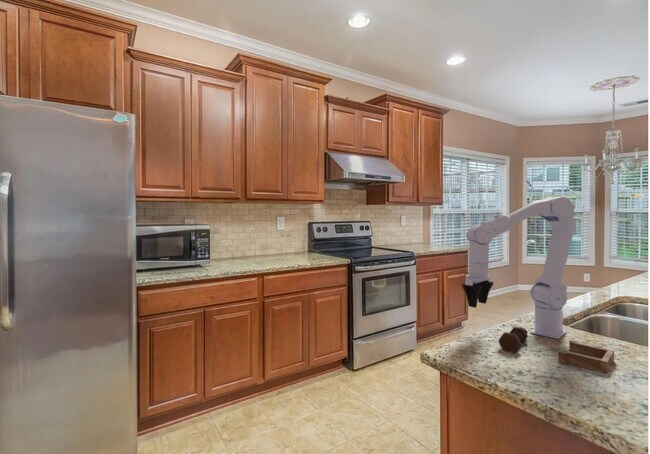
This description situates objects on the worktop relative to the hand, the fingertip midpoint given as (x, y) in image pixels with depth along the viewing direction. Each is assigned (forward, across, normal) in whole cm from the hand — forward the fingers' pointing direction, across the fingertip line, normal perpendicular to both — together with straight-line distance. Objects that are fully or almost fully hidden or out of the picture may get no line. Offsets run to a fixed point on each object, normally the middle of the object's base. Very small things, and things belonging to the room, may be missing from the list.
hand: (477, 304), depth 112 cm
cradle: (+9, 0, +28) cm, 30 cm away
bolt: (+10, 0, +12) cm, 15 cm away
